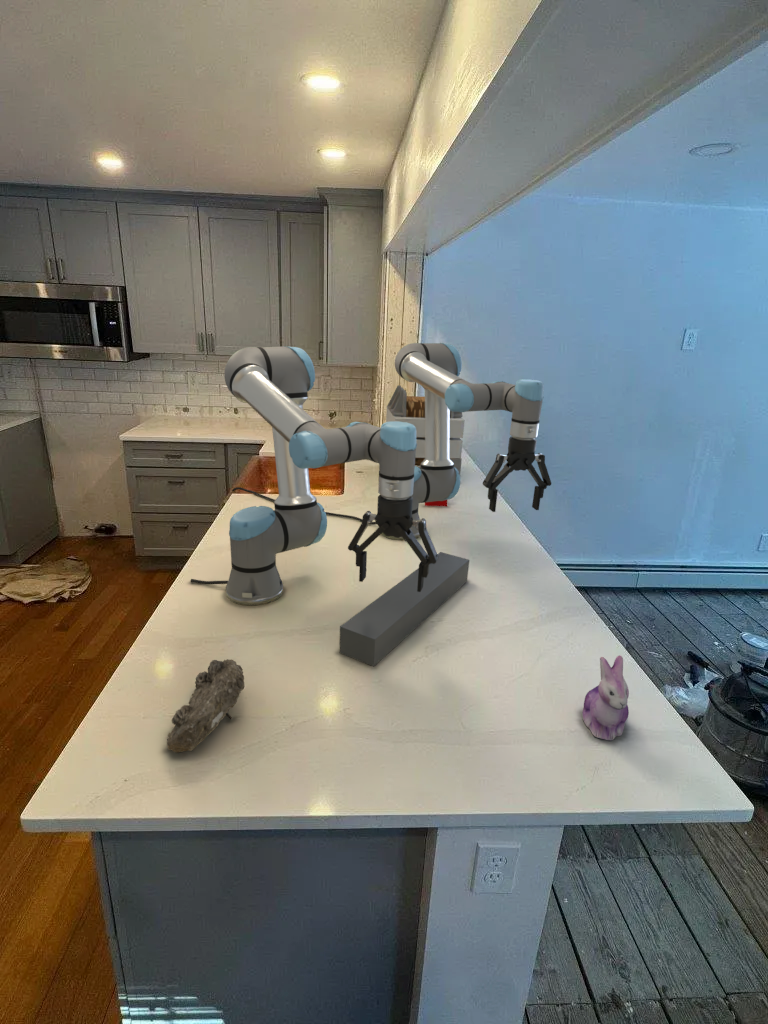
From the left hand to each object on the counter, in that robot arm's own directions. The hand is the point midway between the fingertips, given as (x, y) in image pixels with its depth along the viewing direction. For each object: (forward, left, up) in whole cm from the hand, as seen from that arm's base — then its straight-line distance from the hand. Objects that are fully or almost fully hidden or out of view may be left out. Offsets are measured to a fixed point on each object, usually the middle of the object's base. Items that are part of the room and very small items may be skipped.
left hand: (391, 584), depth 129 cm
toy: (-54, +103, -16) cm, 117 cm away
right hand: (+5, +53, +6) cm, 53 cm away
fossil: (-10, -42, -16) cm, 46 cm away
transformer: (-78, +129, -16) cm, 151 cm away
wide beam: (-4, +16, -16) cm, 23 cm away
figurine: (+49, +5, -16) cm, 52 cm away
